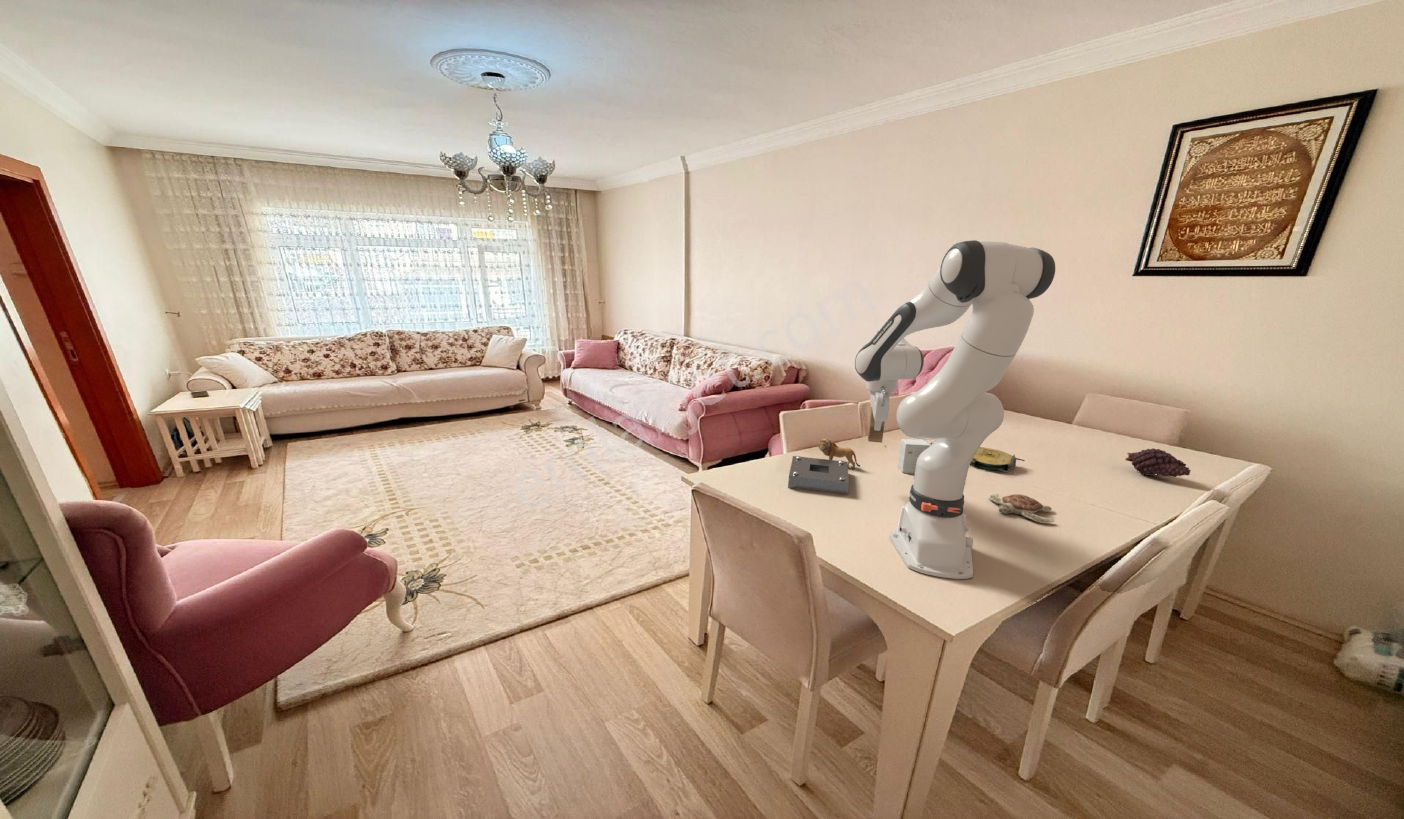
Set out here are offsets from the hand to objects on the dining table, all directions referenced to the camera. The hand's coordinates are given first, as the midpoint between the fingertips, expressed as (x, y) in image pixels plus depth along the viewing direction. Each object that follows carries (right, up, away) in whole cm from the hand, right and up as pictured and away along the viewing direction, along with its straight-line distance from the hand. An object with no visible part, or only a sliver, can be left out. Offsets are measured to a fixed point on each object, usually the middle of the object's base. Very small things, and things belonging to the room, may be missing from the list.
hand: (876, 427), depth 152 cm
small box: (+18, -16, +18) cm, 30 cm away
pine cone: (+101, -18, +17) cm, 104 cm away
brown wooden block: (0, -4, +1) cm, 4 cm away
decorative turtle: (+38, -24, -10) cm, 46 cm away
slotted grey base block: (-16, -17, +8) cm, 25 cm away
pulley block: (+45, -14, +28) cm, 55 cm away
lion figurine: (-6, -14, +21) cm, 26 cm away
